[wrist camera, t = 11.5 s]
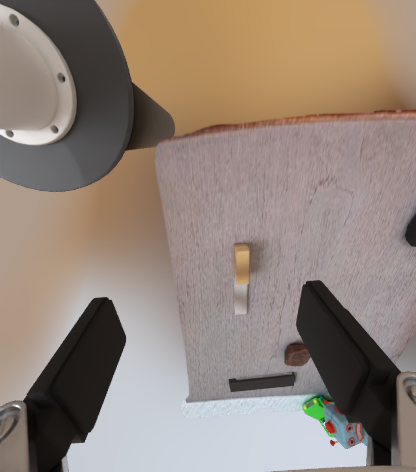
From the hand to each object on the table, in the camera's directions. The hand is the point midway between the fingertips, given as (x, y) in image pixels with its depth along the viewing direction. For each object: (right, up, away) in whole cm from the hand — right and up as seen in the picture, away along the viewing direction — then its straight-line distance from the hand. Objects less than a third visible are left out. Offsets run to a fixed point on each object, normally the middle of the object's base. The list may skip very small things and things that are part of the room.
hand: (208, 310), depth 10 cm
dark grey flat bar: (+14, -34, +42) cm, 56 cm away
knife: (+6, -5, +29) cm, 30 cm away
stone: (+21, -24, +38) cm, 50 cm away
